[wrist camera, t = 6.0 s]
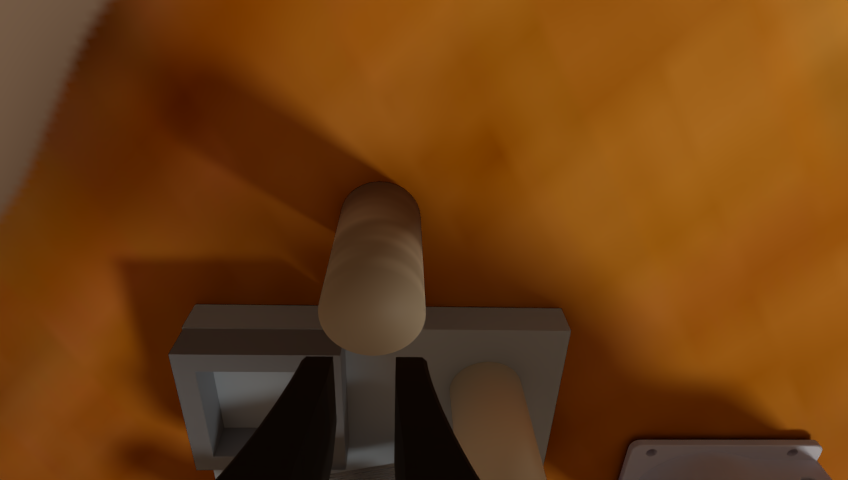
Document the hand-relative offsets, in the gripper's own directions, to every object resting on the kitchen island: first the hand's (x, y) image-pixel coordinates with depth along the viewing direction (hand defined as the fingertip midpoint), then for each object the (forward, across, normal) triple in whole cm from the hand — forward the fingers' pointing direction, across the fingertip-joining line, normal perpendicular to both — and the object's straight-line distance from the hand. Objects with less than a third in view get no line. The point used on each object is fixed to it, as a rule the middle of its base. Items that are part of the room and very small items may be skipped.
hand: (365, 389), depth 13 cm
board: (+9, 0, +12) cm, 15 cm away
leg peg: (+9, 0, 0) cm, 9 cm away
